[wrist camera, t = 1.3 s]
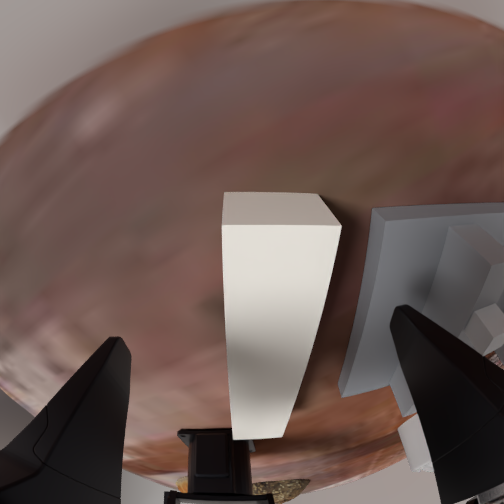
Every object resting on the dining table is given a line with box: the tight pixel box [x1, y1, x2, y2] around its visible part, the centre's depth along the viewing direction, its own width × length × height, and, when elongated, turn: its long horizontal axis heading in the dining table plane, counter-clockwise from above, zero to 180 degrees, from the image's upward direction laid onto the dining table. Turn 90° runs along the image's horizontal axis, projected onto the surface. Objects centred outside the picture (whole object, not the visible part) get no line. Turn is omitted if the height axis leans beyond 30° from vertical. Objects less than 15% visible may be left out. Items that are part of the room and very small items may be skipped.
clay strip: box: [222, 192, 342, 440], centre depth 13 cm, size 16×3×3 cm, turn 178°
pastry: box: [176, 477, 188, 493], centre depth 33 cm, size 9×7×4 cm
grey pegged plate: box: [338, 202, 504, 417], centre depth 11 cm, size 20×13×6 cm, turn 95°
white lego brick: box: [398, 414, 434, 472], centre depth 23 cm, size 10×13×9 cm
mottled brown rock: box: [252, 479, 309, 504], centre depth 39 cm, size 13×12×5 cm
